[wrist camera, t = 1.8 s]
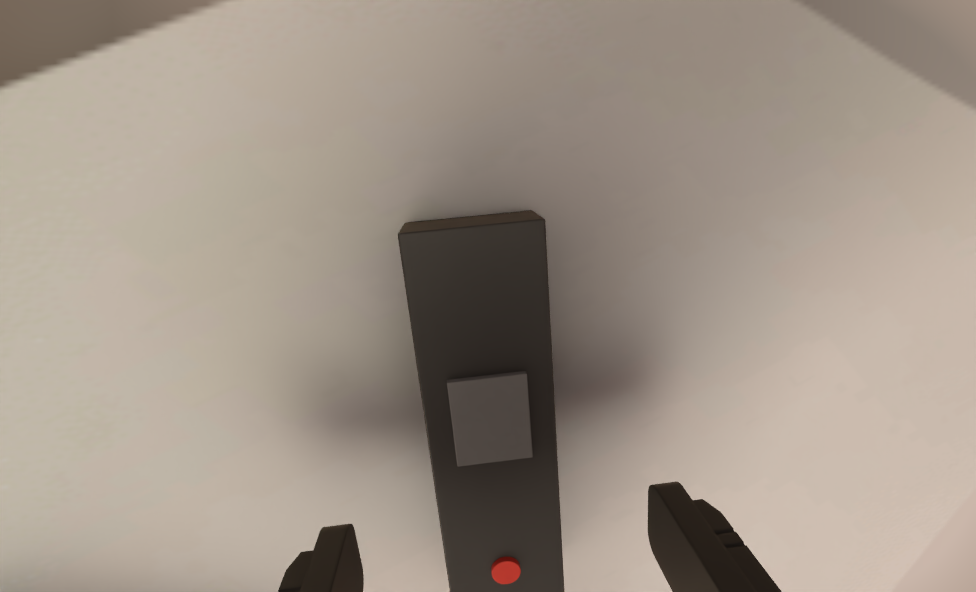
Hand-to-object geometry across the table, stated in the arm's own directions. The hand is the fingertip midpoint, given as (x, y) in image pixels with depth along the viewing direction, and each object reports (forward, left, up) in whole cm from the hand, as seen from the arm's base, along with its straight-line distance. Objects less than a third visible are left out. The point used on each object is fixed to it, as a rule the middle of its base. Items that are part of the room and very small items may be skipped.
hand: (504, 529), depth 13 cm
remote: (0, 0, -6) cm, 6 cm away
